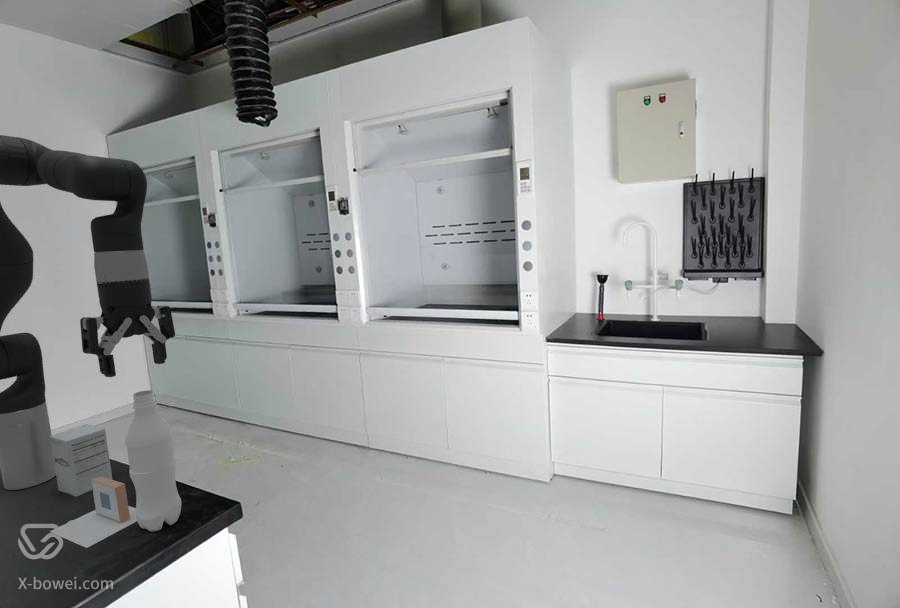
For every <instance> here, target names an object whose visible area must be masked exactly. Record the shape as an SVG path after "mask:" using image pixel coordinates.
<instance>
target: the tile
mask: <svg viewBox="0 0 900 608" xmlns="http://www.w3.org/2000/svg"><path fill="white" fill-rule="evenodd" d="M91 484H92V490H91V491H92V495H93V501H94V506H95V507H94V508H95V509H94V510H96V514H97V515H100V516H102V517H105V518H108V519H110V520H113V521H116V522H118V523H123V522H125V521H127V520H129V519H130V515H129V508H128V506H129V503H128V496H127V490H126V489H127V488H126V484H125V483H124V482H120V481H118V480H114V479H113V480H111V479H108V478H105V477H101V476H99V477H97V478H94V479H92V480H91Z"/></svg>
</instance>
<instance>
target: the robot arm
mask: <svg viewBox="0 0 900 608" xmlns="http://www.w3.org/2000/svg"><path fill="white" fill-rule="evenodd" d="M0 185H1V186H15V187H16V186H18V187H32V186H41V185H47V186H48V187H51V188H53V189H56V190H58V191H62V192H66V193H71V194H73V195H74V196H76V197H78V198H80V199H84V200H90V201H99V202H100V201H102V202H103V201H104V202H116V205H115V206H116V207H115V209H114V212H113V213H111V214H106V215H105V214H104V215H100V216H96V217H94V218H93V219H92V220H91V222H90V233H91V240H92V241H91V242H92V249H93V252H94V253H93V256H94V257H93V259H94V260H93V263H94V265H93V267H94V268H93V269H94V274H95V280H96V281H95V282H96V287H97V295H98V301H99V306H100V309H101V314H100V316H95V317H94V316H93V317H90V316H89V317H88V316H87V317H85V316H83V317H81V318H80V320H79V323H80V337H81V348H82V353H83V354H88V355H96V356H97V360H98V365H99V373H100V374H101V375H103V376H104V377H106V378H113V377H116V375H117V374H116V373H117V372H116V366H115V360H114V354H112V352H113V351H114V349H115V347H116V345H118V344H119V343H120V341H121V340H122V338H130V337H133V336H141V335H142V336H146V337H147V339H149V340H150V341H151V342H152V343H151V349H152V357H153V358H152V359H153V362H154V364H155V365H163V364H165V362H166V360H167V358H168V356H167V355H168V354H167V348H166V342H167V341H168V340H169V339H171V338H175V337H176V331H175V325H174V320H173V315H172V310H171V307H170V306H169V305H157V306H156V307H153V306H152V301H153V297H152V289H151V284H150V283H151V282H150V275H149V266H148V262H147V258H146V255H145V254H146V253H145V251H144V243H143V235H142V234H143V233H142V221H143V216H144V215H143V213H144V209H145V201H146V198H147V192H148V180H147V177H146V175H145V172H144V170H143V169H142V168H141V166H140V165H139V164H137V163H136V162H134V161H132V160H129V159H121V158H114V157H106V156H105V157H104V156H95V155H88V154H84V153H80V152H74V151H68V150H56V149H55V150H53V149H51V148H49V147H47V146H44V145H43V144H40V143H39V142H36V141H34V140H31V139H27V138H24V137H19V136H11V135H2V134H0ZM33 279H34V251H33V248H32V245H31V244H30V242H29V241H28V240H27V238H26V237H25V236H24V234H23V233H22V232H21V231H20V230H19V228H18V227H17V226H16V225H15V224H14V223H13V222H12V221H11V219H10V218H9V216H8V215H7V213H6V212H5V210H4V208H3V205H2V203H1V201H0V332H1V330H2V327H3V325H4V322H5V320H6V318H7V317H8V316H9V314H10V313H11V312H12V310H13V309H14V308H15V306H16V305H17V304H18V303H19V302H20V300H21V299H22V298H23V297H24V296H25V294H26V293H28V291H29V289H30V287H31V285H32V282H33ZM154 317H155V319H157V323H158V326H159V328H158V327H157V326H156V325H155V324H154V323H153V322H152V321H153V320H154ZM101 325H102V326H104V327H105V330H104V332H103V334H102V335H101V337H100V341H99V332H98V330H99V329H100V328H101ZM43 362H44V361H43V354H42V349H41V344H40V341H39V340H38V339H37V337H36V336H35V335H33V334H32V333H31V332H19V333H12V334H5V335H0V381H1V380H6V379H10V378H11V379H12V378H14V377H16V379H15V381H14V382H12V384H11V385H10V386H9V387H7V388H5V389H4V390H3V391H0V472H1V479H2V484H3V488H4V490H9V491H12V490H13V491H16V490H22V489H27V488H31V487H35V486H38V485H40V484H43V483H45V482H47V481H50V480H52V479H53V478H54V477H55V476H56V471H55V465H54V458H53V452H52V446H51V440H50V436H51V435H53V433H52V429H51V423H50V417H49V411H48V405H47V400H46V382H45V373H44V372H45V371H44V364H43Z"/></svg>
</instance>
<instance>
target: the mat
mask: <svg viewBox="0 0 900 608" xmlns="http://www.w3.org/2000/svg"><path fill="white" fill-rule="evenodd" d="M128 508H129V515H130V519H129V520H127V521H125V522H123V523H118V522H116V521H113V520H110V519H108V518H105V517H102V516H100V515H97V514H96V509H94V510H92V511H90V512H87V513H85V514H84V515H82V516H79V517H78V518H75V519H73V520H71V521H69V522H66V523H64V524H62V525H60V526H58V527H55V528H54V529H51V530H50V531H49V533H50V534H54V535H56V536H58V537H61V538H63V539H65V540H68V541H69V542H72V543H75V544H77V545H79V546H81V547H83V548H86V549H87V548H90V547H92V546H94V545H95V544H97V543H100V542H101V541H103V540H104V539H106V538H108V537H110V536H112V535H114V534H116V533H118V532H120V531H122V530H124V529H125V528H127V527H129V526H131V525H133V524H135V523H136V522H137V518H136V513H135V510H136V507H133V506H130V505H128ZM137 523H138V522H137Z"/></svg>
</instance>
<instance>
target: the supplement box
mask: <svg viewBox="0 0 900 608" xmlns="http://www.w3.org/2000/svg"><path fill="white" fill-rule="evenodd" d="M106 432H107V431H106V428H104V427H98V426H96V425H92V424H89V423H88V424H87V423H86V424H82V425H78V426H77V427H74V428H73V427H72V428H70V429H67V430H64V431H60V432H57V433H54V434H52V435H51V436H50V440H51V446H52V452H53V458H54V465H55V471H56V482H57V490H58V492H62V493H66V494H69V495H71V496H73V497H76V498H77V497H79V496H81V495H84V494H86V493H88V492H90V491H93V490H92V484H91V480H92V479H94V478H97V477H99V476H101V477H105V478H108V479H111V480H114V479H113V474H112V468H111V461H110V460H111V459H110V454H109V445H108V440H107V439H108V438H107V433H106Z"/></svg>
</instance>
